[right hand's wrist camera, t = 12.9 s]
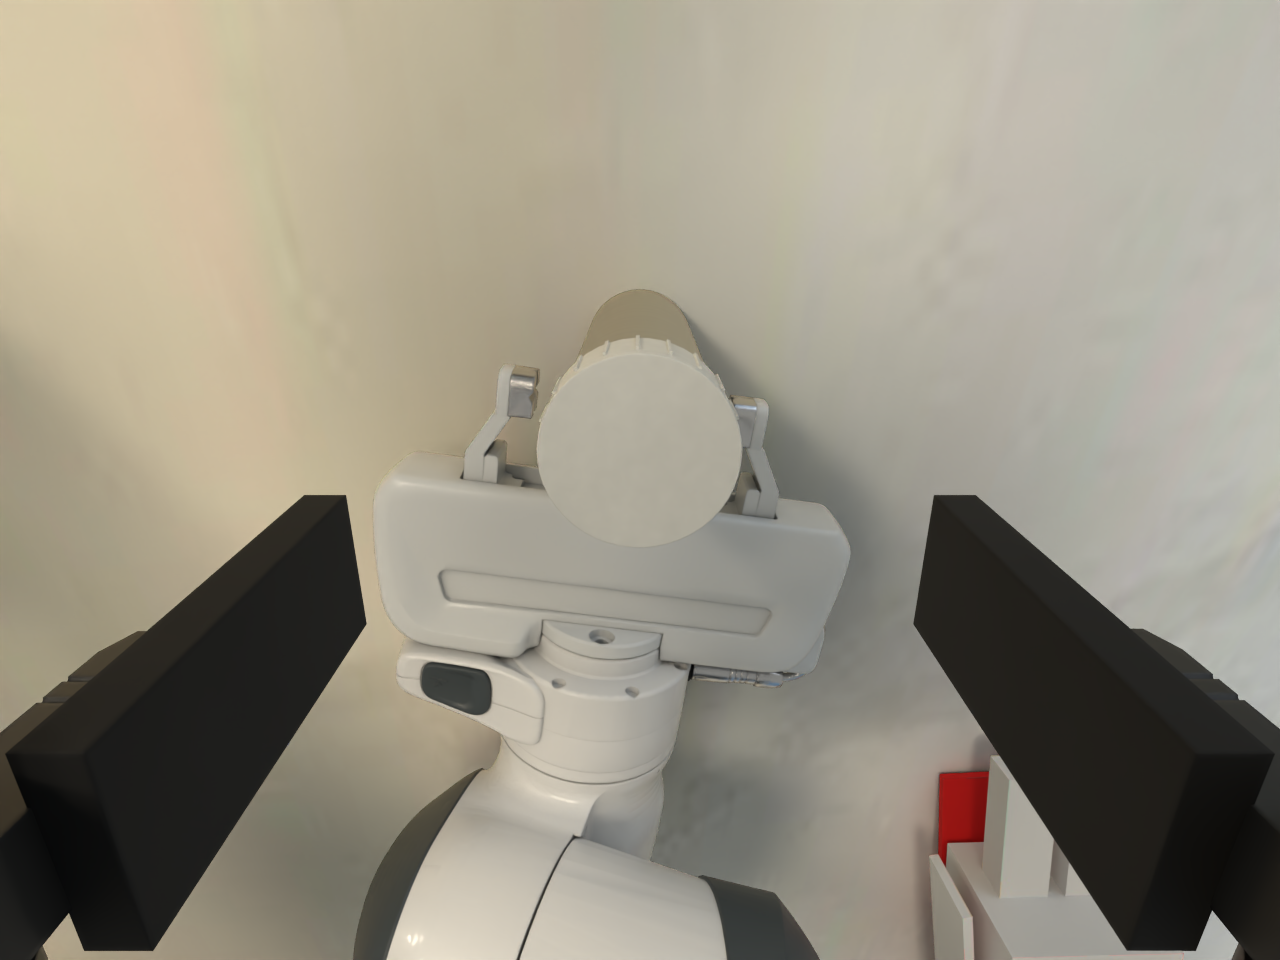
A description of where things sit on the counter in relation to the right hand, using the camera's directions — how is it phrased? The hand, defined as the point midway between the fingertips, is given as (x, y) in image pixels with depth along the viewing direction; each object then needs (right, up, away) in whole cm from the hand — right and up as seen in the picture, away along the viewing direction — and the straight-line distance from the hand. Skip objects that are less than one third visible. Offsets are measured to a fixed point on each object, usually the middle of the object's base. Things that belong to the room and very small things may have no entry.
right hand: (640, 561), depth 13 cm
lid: (0, +2, +6) cm, 6 cm away
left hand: (0, +5, +16) cm, 17 cm away
